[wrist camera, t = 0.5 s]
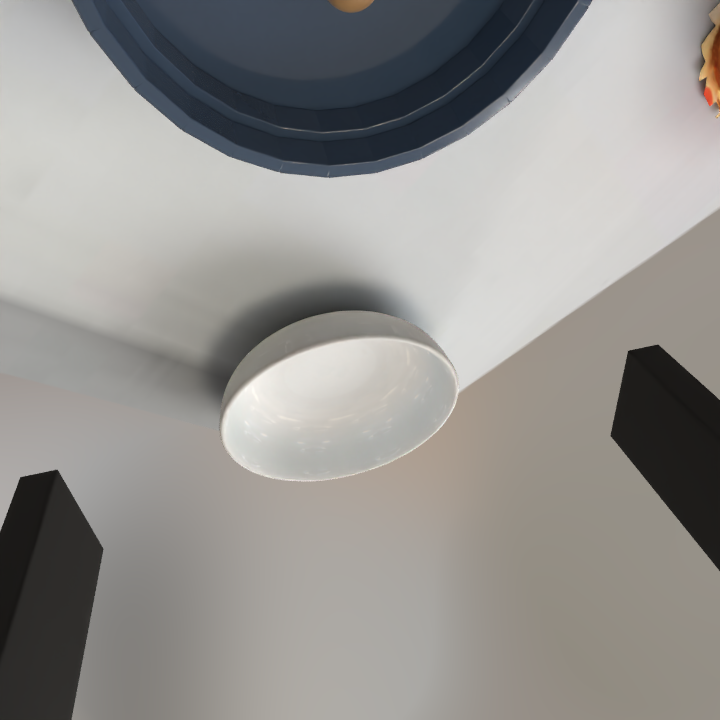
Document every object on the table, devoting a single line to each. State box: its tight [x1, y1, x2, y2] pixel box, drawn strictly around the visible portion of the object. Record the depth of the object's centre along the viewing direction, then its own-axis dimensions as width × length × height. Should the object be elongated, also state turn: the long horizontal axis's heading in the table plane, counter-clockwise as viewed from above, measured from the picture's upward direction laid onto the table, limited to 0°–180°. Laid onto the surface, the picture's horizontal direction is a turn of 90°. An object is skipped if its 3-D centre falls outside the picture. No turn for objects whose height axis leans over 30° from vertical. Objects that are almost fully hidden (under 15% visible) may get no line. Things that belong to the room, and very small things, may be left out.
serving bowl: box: [220, 311, 459, 481], centre depth 53 cm, size 21×21×7 cm
